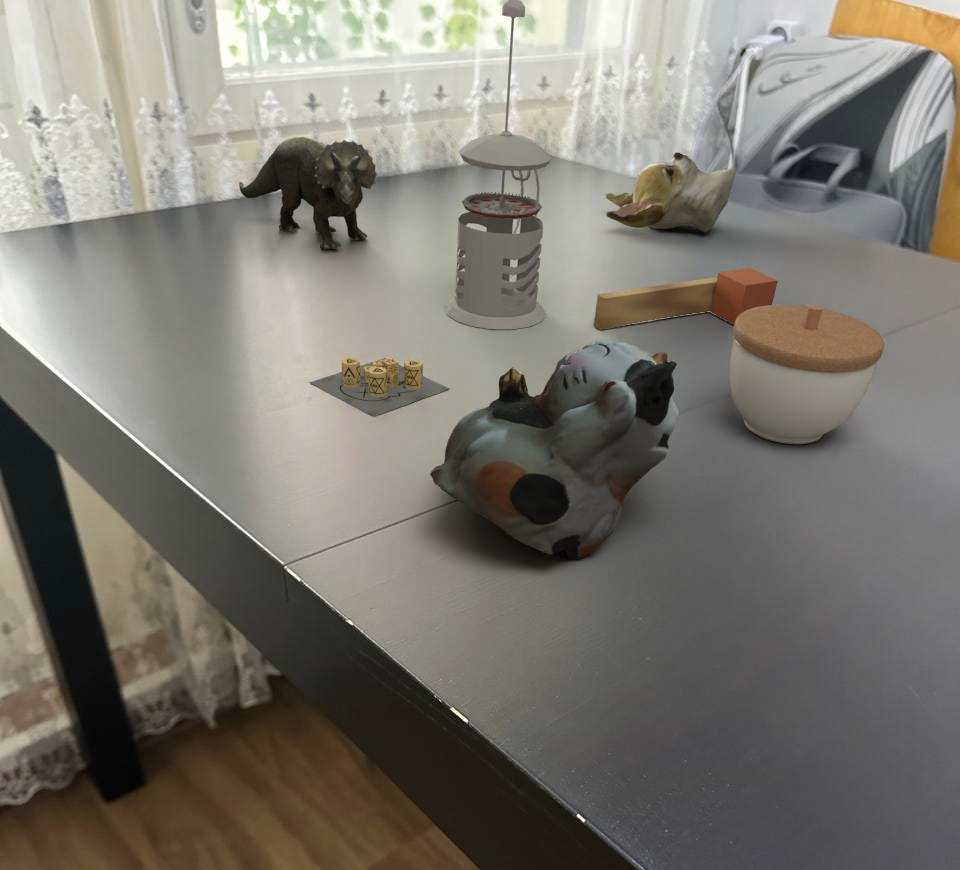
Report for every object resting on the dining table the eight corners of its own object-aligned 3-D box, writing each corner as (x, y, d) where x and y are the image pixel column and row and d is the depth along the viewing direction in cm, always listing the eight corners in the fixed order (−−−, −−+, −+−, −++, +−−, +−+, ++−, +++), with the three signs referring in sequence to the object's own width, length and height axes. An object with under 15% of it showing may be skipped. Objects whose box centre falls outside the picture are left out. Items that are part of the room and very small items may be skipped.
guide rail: (720, 305, 96) (726, 275, 94) (728, 309, 95) (734, 279, 93) (593, 326, 90) (597, 294, 88) (600, 330, 89) (604, 298, 87)
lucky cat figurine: (462, 448, 69) (567, 272, 63) (600, 541, 69) (718, 373, 63) (396, 490, 55) (522, 270, 49) (569, 606, 55) (715, 399, 49)
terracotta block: (740, 308, 95) (750, 267, 93) (768, 321, 93) (778, 280, 90) (710, 313, 94) (718, 272, 91) (736, 327, 91) (746, 285, 89)
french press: (426, 315, 89) (431, -4, 74) (479, 281, 98) (493, -12, 82) (521, 337, 86) (548, 9, 71) (568, 300, 95) (600, -1, 79)
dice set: (426, 386, 77) (426, 363, 76) (378, 404, 74) (377, 380, 73) (385, 367, 80) (385, 344, 78) (337, 382, 77) (336, 359, 76)
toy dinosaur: (234, 219, 111) (222, 110, 104) (295, 208, 115) (288, 104, 108) (346, 270, 98) (341, 150, 91) (409, 256, 103) (410, 141, 96)
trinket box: (710, 391, 79) (735, 276, 73) (841, 405, 78) (877, 290, 72) (718, 450, 71) (746, 326, 65) (864, 466, 70) (907, 341, 64)
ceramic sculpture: (744, 162, 107) (610, 161, 108) (732, 243, 112) (604, 241, 113) (733, 143, 115) (608, 142, 116) (722, 219, 120) (603, 218, 122)
